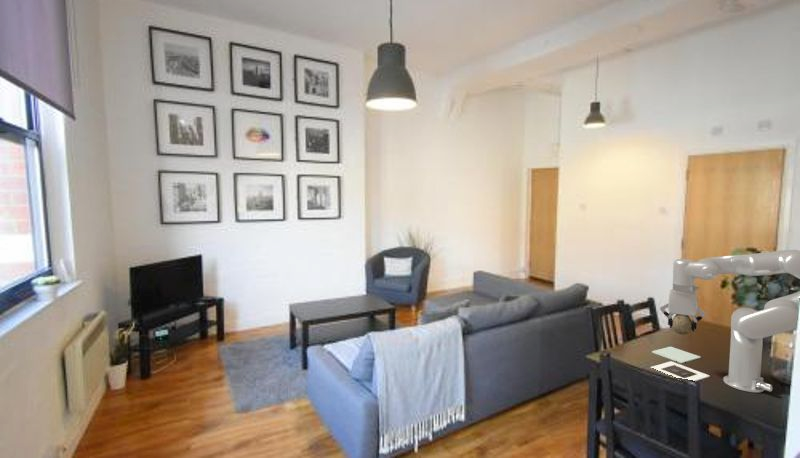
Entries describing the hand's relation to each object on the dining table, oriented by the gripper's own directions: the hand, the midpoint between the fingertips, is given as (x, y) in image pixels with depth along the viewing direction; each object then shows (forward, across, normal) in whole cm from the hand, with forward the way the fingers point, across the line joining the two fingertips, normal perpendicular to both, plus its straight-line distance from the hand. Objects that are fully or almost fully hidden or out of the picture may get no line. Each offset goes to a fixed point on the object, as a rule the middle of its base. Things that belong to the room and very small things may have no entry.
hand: (681, 328), depth 169 cm
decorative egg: (+3, 0, 0) cm, 3 cm away
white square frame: (+20, 0, 0) cm, 20 cm away
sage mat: (+20, +2, -21) cm, 29 cm away
